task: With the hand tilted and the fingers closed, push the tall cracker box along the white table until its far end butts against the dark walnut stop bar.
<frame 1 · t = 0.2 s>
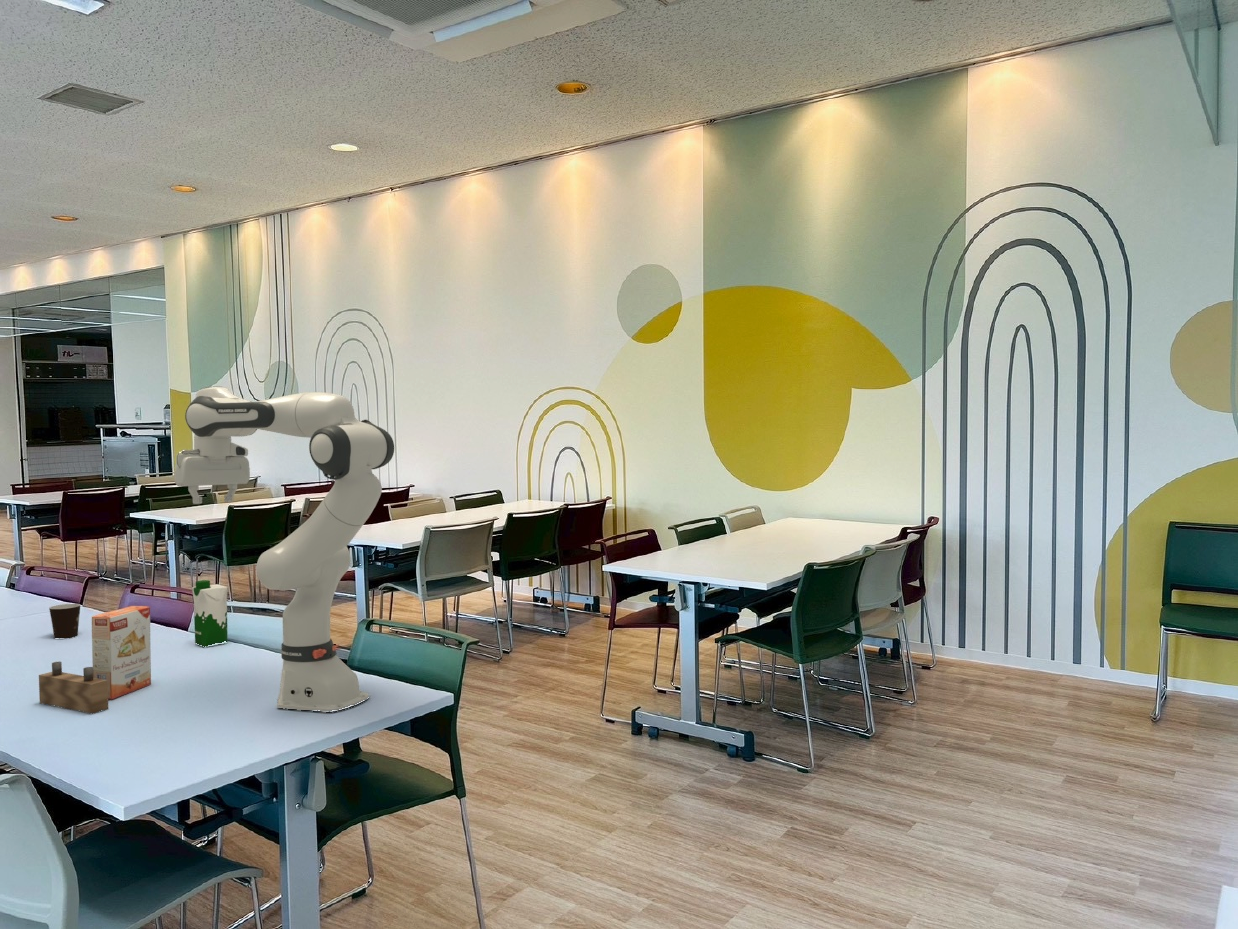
hand: (213, 502, 232), 48 cm above the table, tool pointing down, fingers open, 8 cm apart
milk carton: (211, 644, 278), on the table
coffee mug: (69, 636, 291), on the table
cracker box: (123, 692, 228), on the table
walnut stop bar: (73, 706, 216), on the table
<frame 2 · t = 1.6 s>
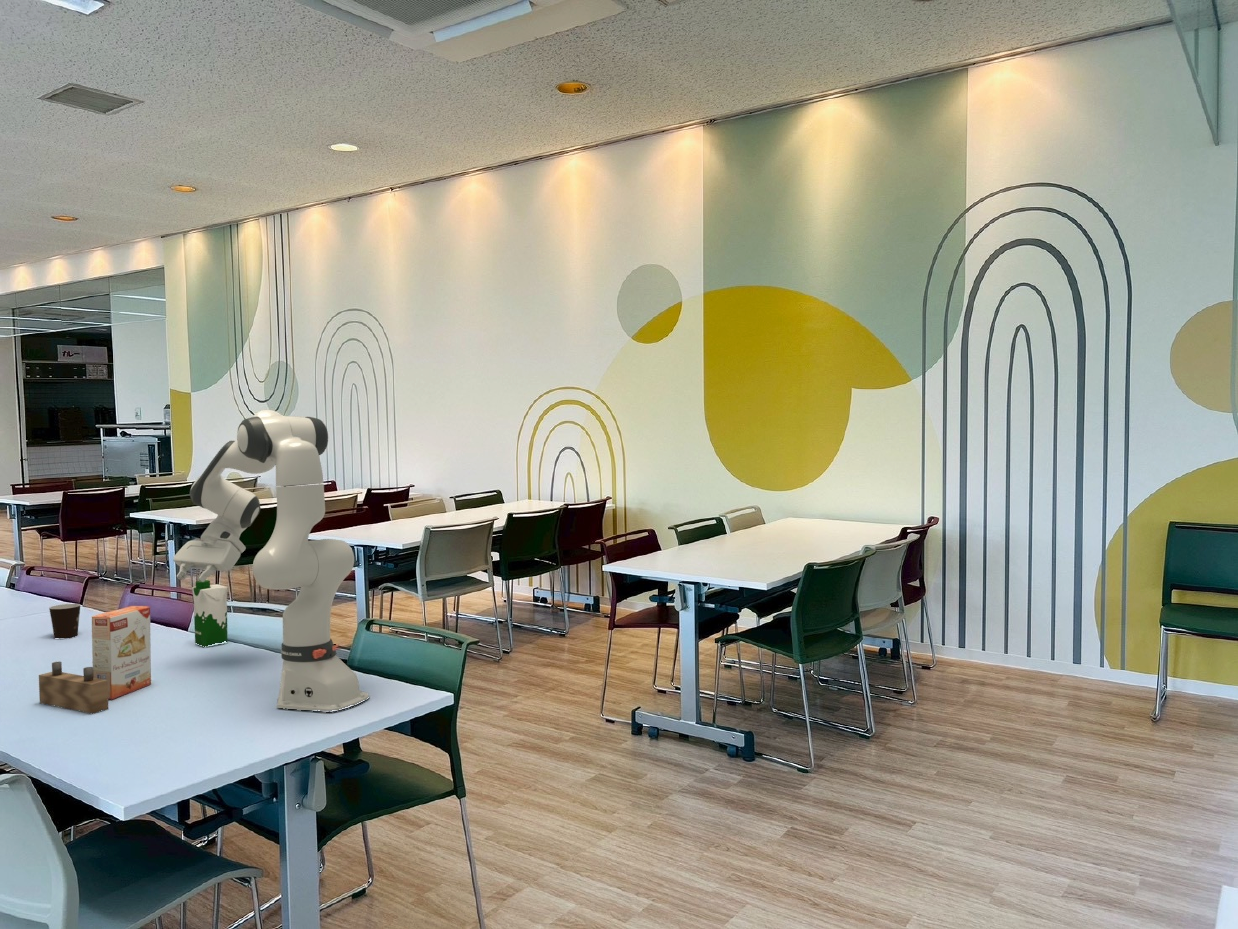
hand: (189, 579, 245), 26 cm above the table, tool tilted 45°, fingers open, 6 cm apart
nothing on the table moved.
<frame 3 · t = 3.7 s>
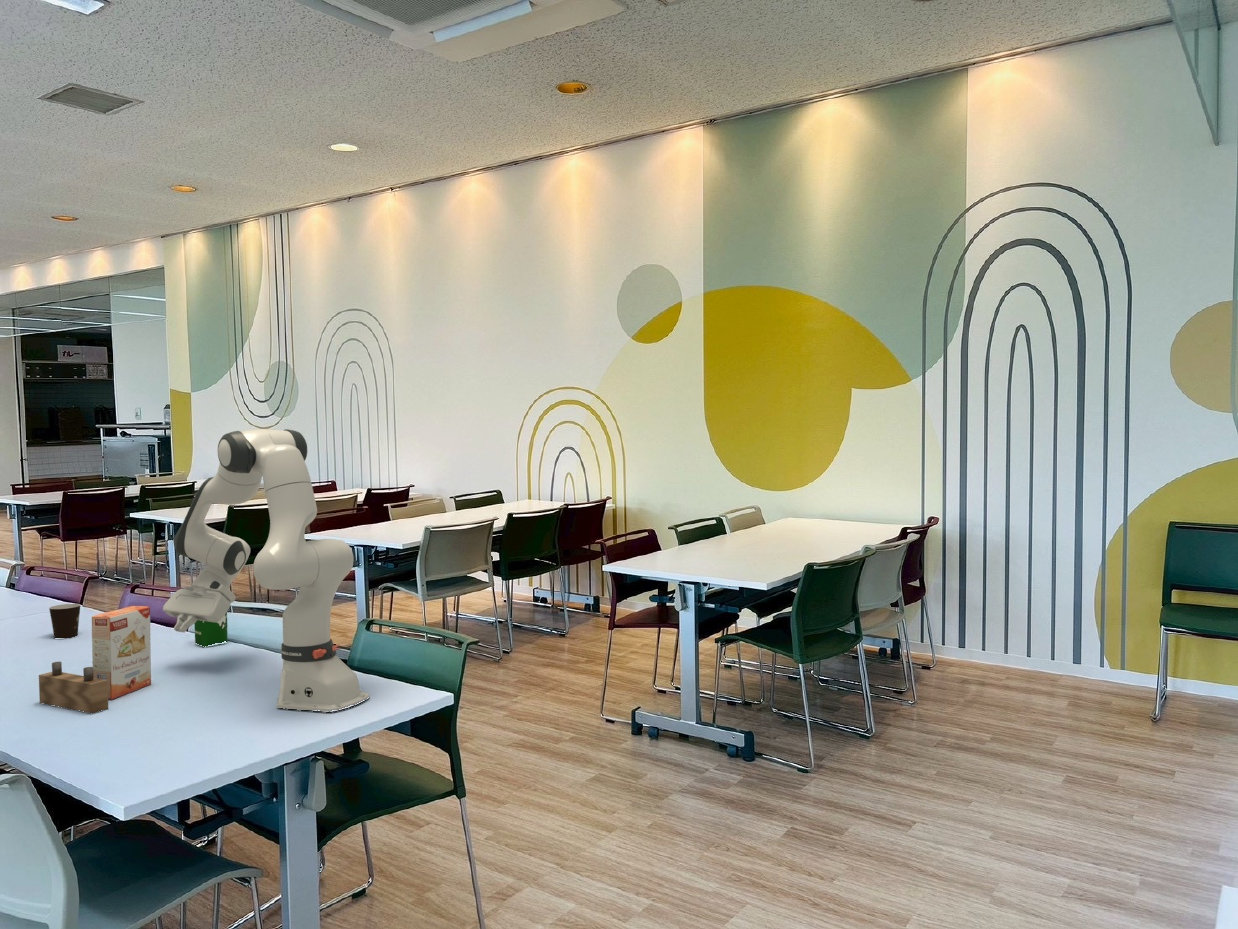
hand: (178, 630, 242), 12 cm above the table, tool tilted 45°, fingers closed
nothing on the table moved.
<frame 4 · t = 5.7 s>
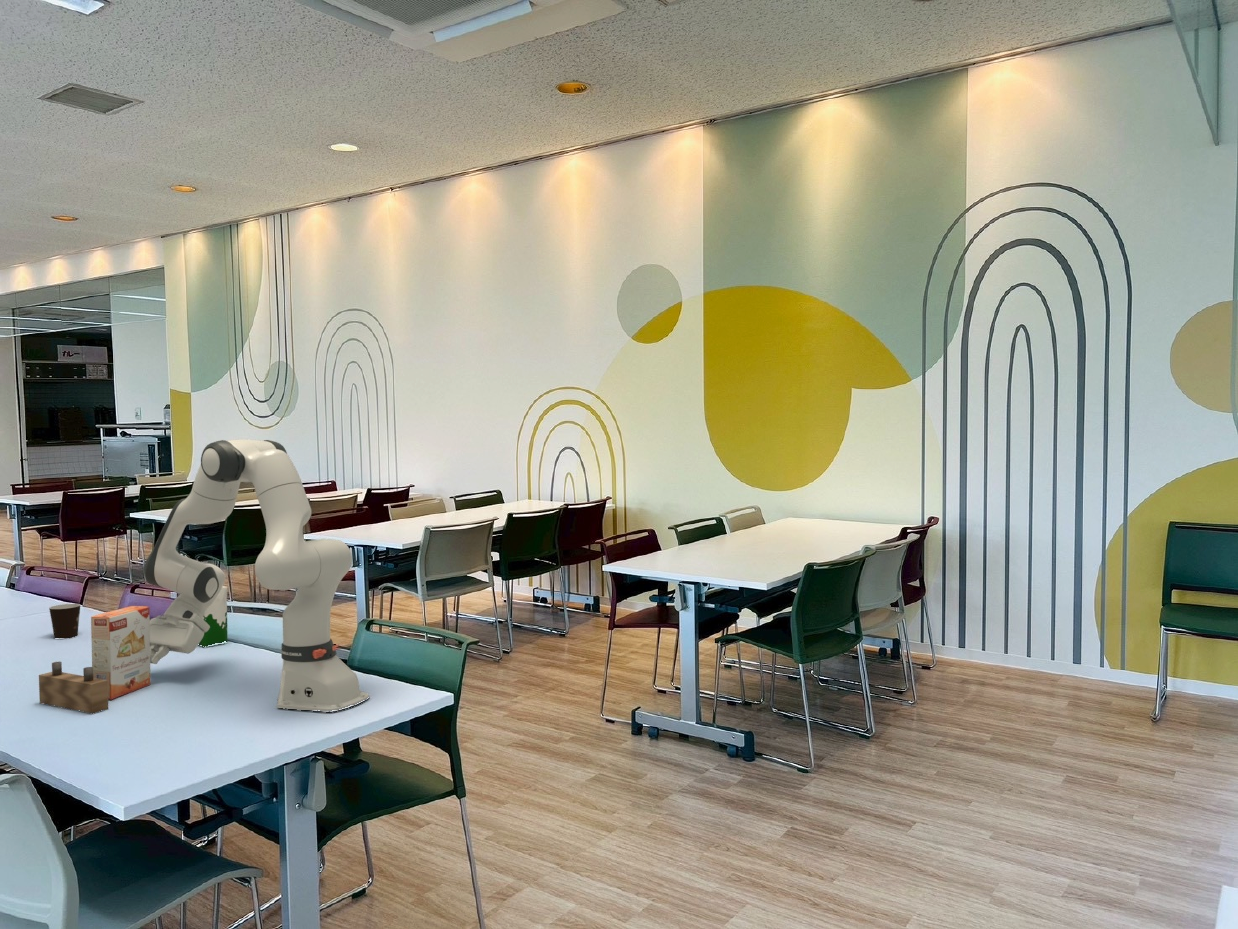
hand: (150, 662, 235), 6 cm above the table, tool tilted 45°, fingers closed
cracker box: (123, 692, 228), on the table, touching gripper
everything else where it was.
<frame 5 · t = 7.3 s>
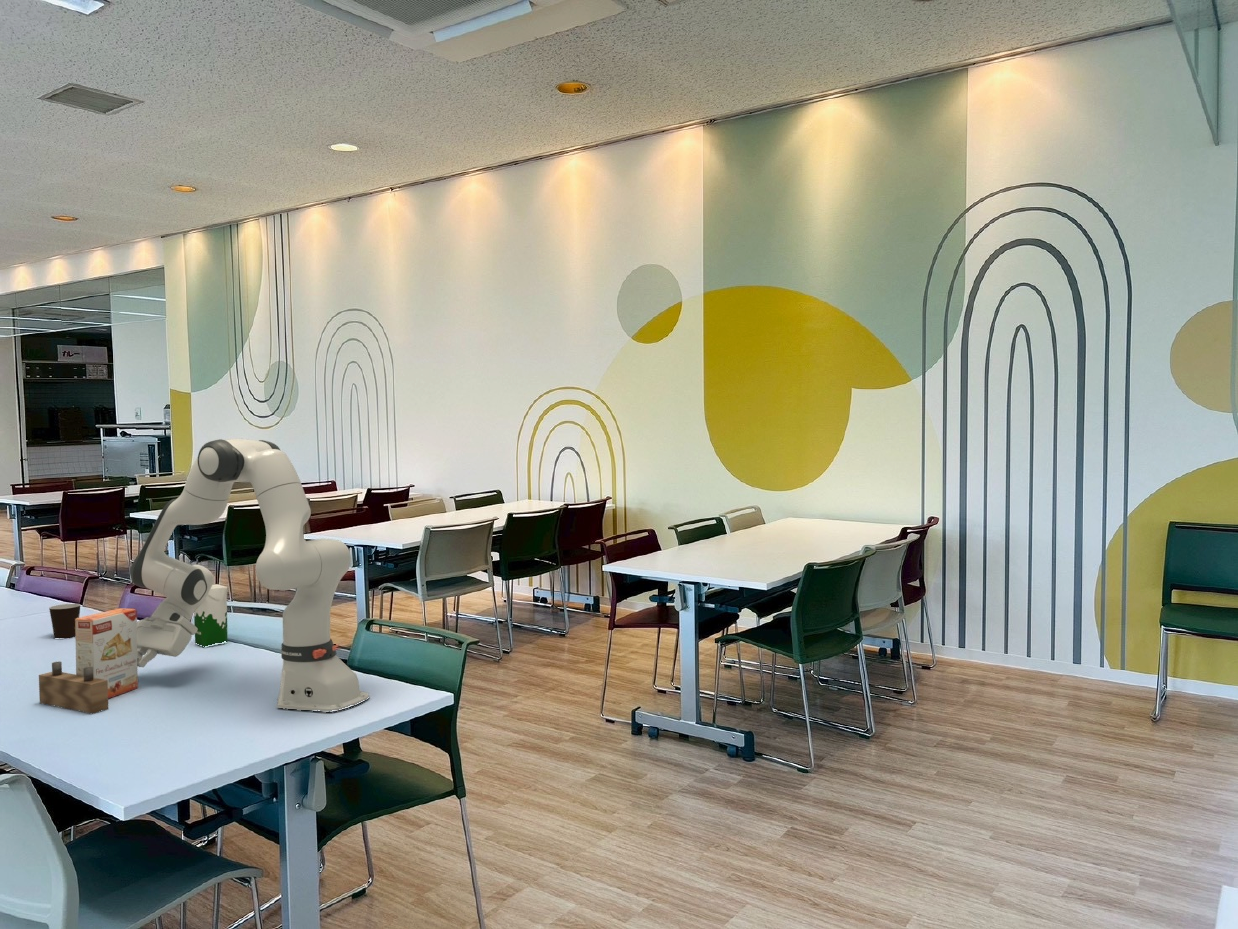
hand: (136, 665, 231), 6 cm above the table, tool tilted 45°, fingers closed
cracker box: (108, 696, 225), on the table, touching gripper, walnut stop bar
everything else where it was.
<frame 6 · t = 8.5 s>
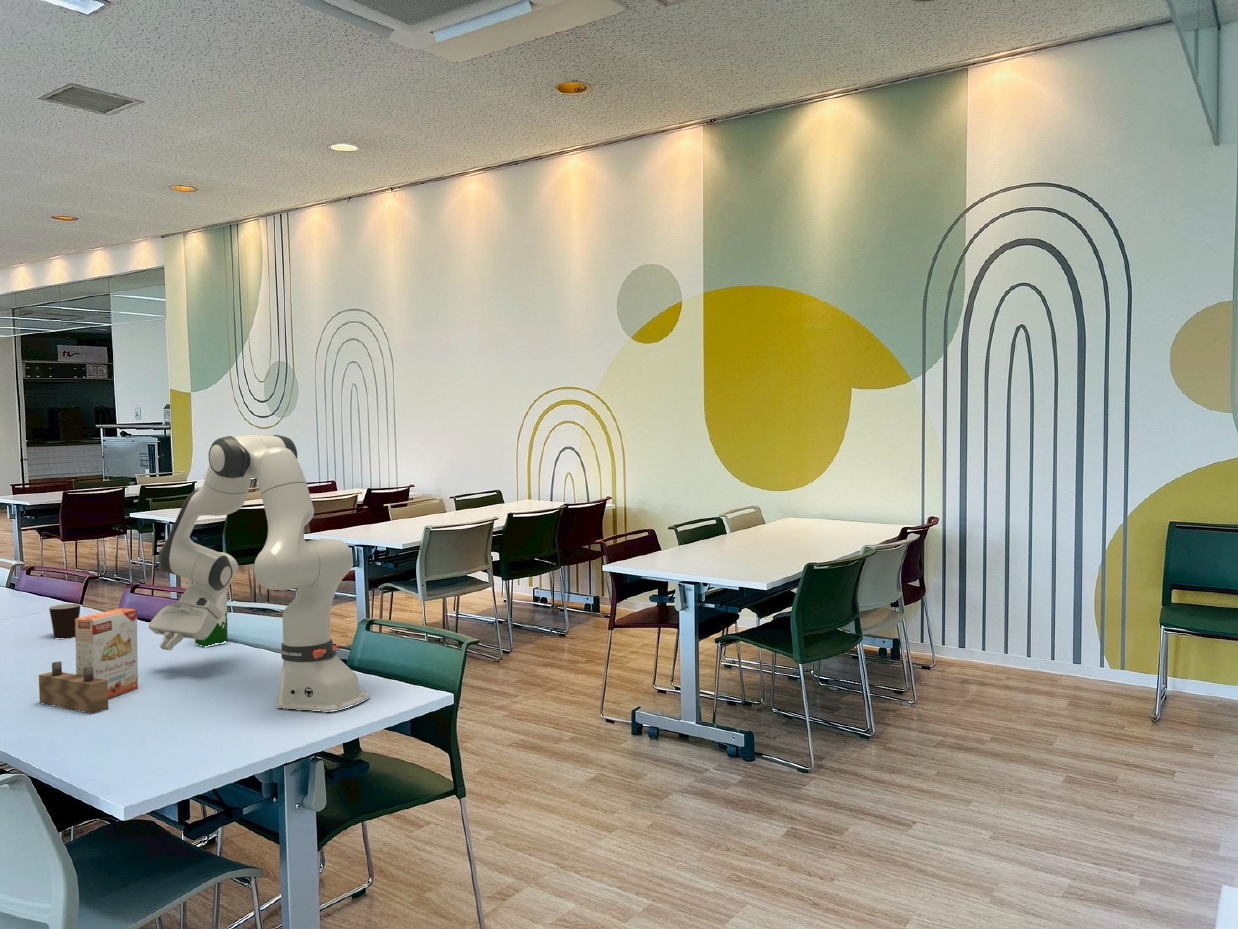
hand: (164, 648, 238), 8 cm above the table, tool tilted 45°, fingers closed
cracker box: (108, 696, 225), on the table
everything else where it was.
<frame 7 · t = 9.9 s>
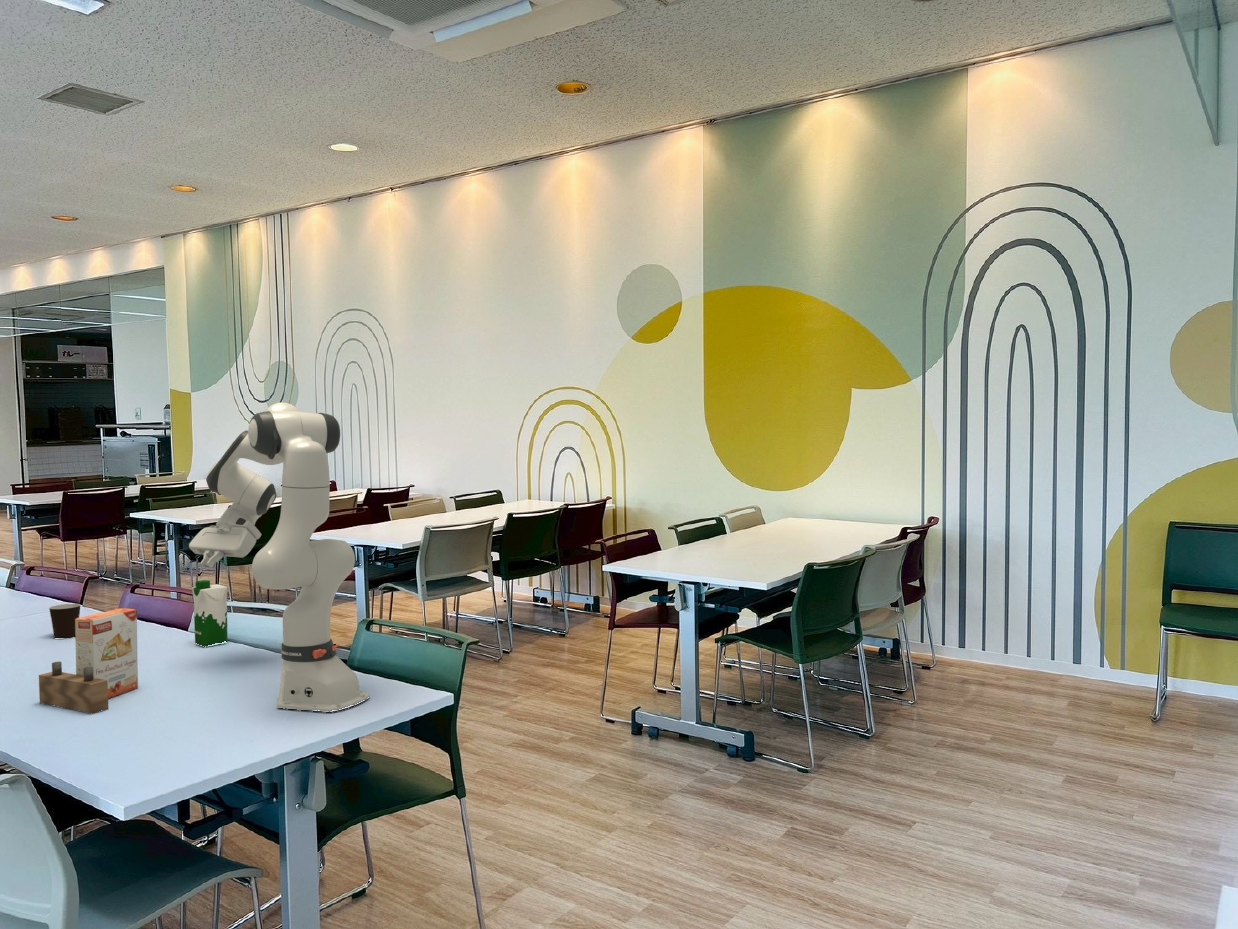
hand: (205, 565, 245), 29 cm above the table, tool tilted 45°, fingers closed
nothing on the table moved.
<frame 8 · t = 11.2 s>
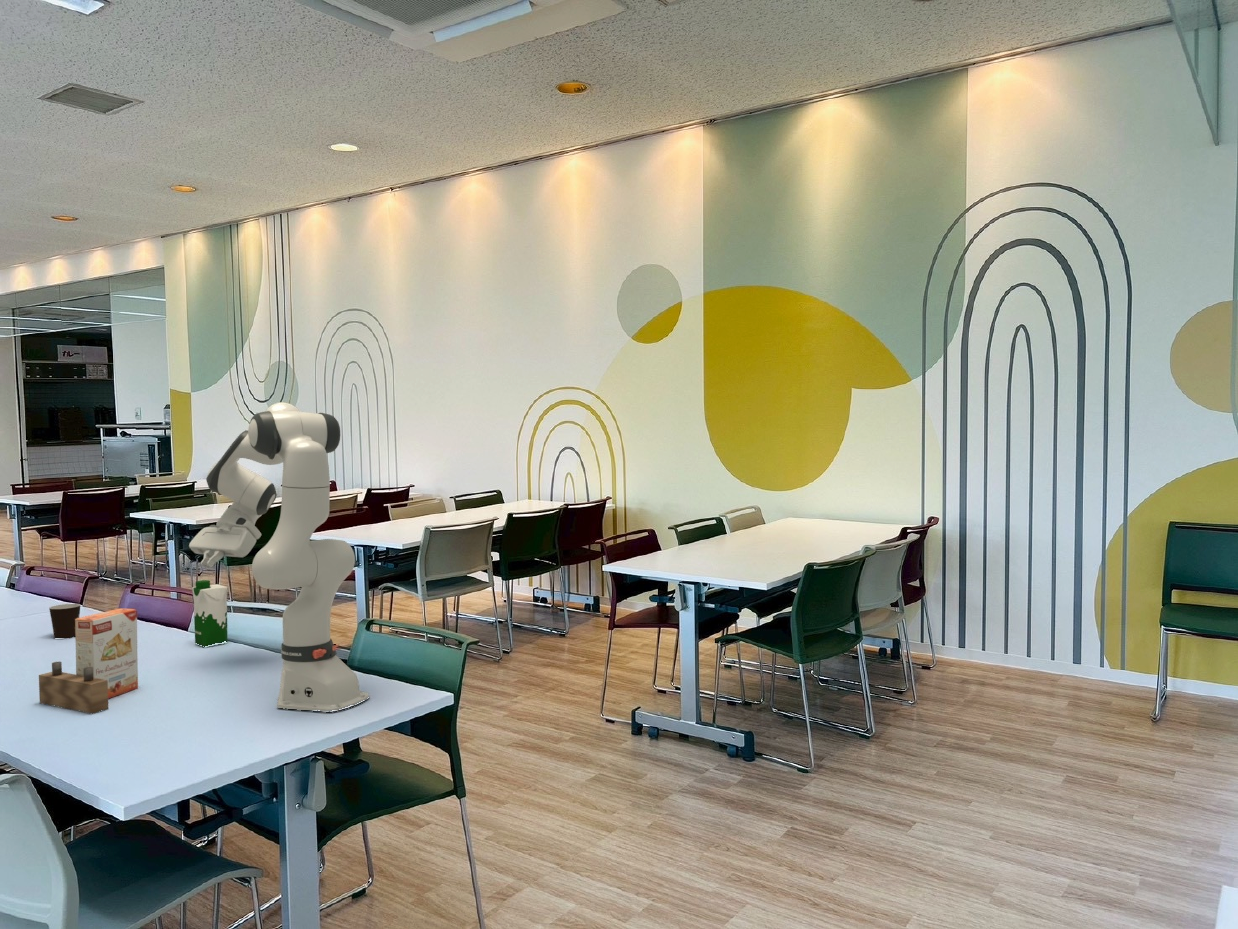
hand: (205, 565, 245), 29 cm above the table, tool tilted 45°, fingers closed
nothing on the table moved.
at the end: cracker box 0.7 cm from the target spot, on the table; cracker box tilted 0° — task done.
